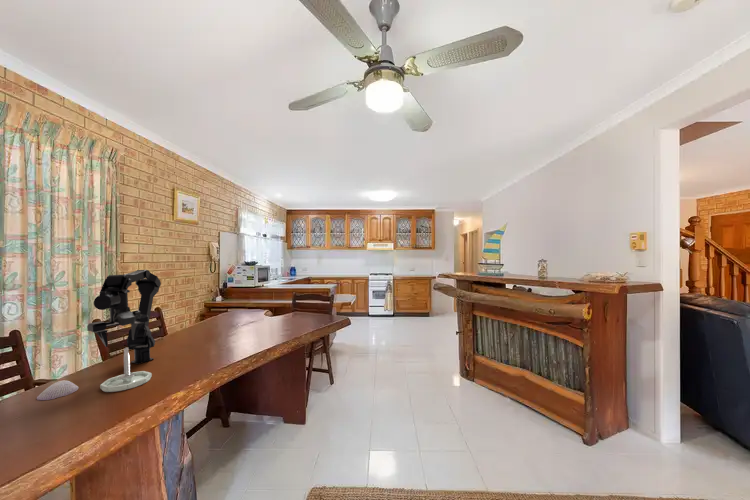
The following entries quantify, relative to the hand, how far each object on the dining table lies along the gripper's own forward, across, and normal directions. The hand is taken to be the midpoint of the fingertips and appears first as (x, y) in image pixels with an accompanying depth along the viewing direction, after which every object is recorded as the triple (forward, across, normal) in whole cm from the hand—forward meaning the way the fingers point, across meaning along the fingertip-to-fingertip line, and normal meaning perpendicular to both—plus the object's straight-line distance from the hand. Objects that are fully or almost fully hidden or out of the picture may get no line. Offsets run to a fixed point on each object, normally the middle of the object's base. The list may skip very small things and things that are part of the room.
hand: (120, 343), depth 125 cm
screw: (+12, -3, -13) cm, 18 cm away
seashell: (+13, -18, +1) cm, 23 cm away
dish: (+13, -4, -13) cm, 18 cm away
